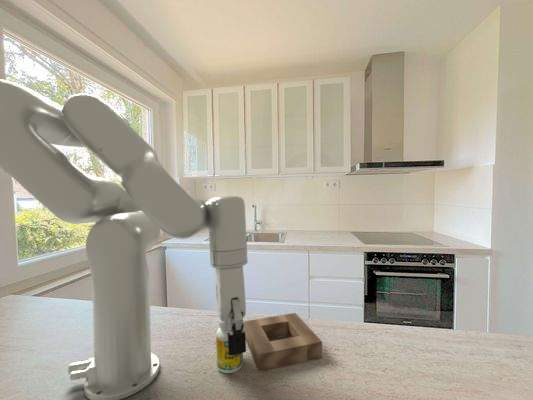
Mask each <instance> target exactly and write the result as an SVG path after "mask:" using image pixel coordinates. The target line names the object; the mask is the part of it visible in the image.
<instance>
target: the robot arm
mask: <svg viewBox="0 0 533 400" xmlns="http://www.w3.org/2000/svg"><path fill="white" fill-rule="evenodd" d="M55 146H64V147H75V148H76V147H77V148H85V149H88V150H90V151H91V153H92V154H93V155H94V156H96V157H97V159H99V160H100V162H101V163H102V164H103V165H105V167H107V168H108V170H109V171H111V172H112V173H113V174H114V175H115V176H116V178H117V180H118V181H119V183H120V185H119V184H117V183H116V182H114V181H112V180H110V179H107V178H103V177H99V176H94V175H92V174H88V173H86V171H83V170H82V169H81V168H80V167H79V166H77V165H76V164H75V163H74V162H72V160H70V159H69V158H68V157H67V156H66V155H65V154H64V153H63V152H62V151H61V150H59V149H58V148H57V147H55ZM0 169H1V170H3V171H4V172H5V173H7V174H8V175H9V176H10V177H11V178H12V179H13V180H15V181H16V182H17V183H18V184H19V185H20V186H21V187H22V188H23V189H25V190H26V191H27V192H28V193H29V194H30V195H32V197H33V198H35V199H36V200H37V201H38V202H40V203H41V204H42V206H44V207H45V208H46V209H48V211H49V212H50V213H52V214H53V215H54V216H55V217H57V218H58V219H59V220H61V221H62V222H64V223H68V224H73V225H74V224H75V225H77V224H88V223H94V224H93V226H92V227H91V228H90V230H89V231H88V233H87V237H86V241H85V253H86V257H87V261H88V262H87V263H88V267H89V270H90V277H91V293H92V316H93V318H92V319H93V321H92V322H93V326H92V327H93V356H91V357H90V358H89V359H85V360H77V361H71V362H70V363H69V365H68V369H67V370H68V372H67V373H68V375H70V381H74V380H80V379H84V378H85V381H84V384H83V387H84V388H83V393H84V396H85V397H86V398H87V399H89V400H123V399H125V398H128V397H130V396H132V395H134V394H137V393H138V392H140V391H142V390H143V389H144V388H146V387H147V386H149V384H150V383H152V382H153V381H154V380H155V378H156V377H157V375H158V374H159V372H160V368H161V367H160V365H161V364H160V363H161V360H160V357H158V355H156V354H155V353H153V352H152V340H151V339H152V338H151V336H152V335H151V334H152V333H151V332H152V330H151V327H152V326H151V325H152V324H151V291H150V288H151V287H150V286H151V285H150V284H151V283H150V274H149V266H148V262H147V257H146V254H147V252H148V251H150V250H151V249H152V248H154V247H155V246H156V245H157V243H158V242H159V240H160V236H161V231H162V232H163V233H165V234H166V235H168V236H170V237H172V238H175V239H179V240H186V239H190V238H193V237H195V236H196V235H197V234H199V233H200V232H202V231H208V239H209V255H210V256H209V257H210V267H211V268H214V269H215V304H216V309H217V314H218V317H219V319H220V320H221V321H224V320H228V326H229V333H228V349H229V355H230V356H232V355H236V354H240V353H243V354H244V353H245V352H247V345H246V344H247V342H246V339H245V328H244V318H245V316H246V315H247V314H246V312H247V311H246V309H247V308H246V288H245V274H244V266H245V265H247V264H248V262H249V261H248V244H247V225H246V220H247V219H246V205H245V200H244V198H242V197H241V196H235V195H231V196H229V195H227V196H216V197H211V198H201V197H192V196H191V195H190V194H189V193H188V192H187V191H185V190H184V188H182V187H181V185H180V184H178V182H177V181H176V180H175V179H174V178H173V177H172V176H171V175H170V174H169V173H168V171H167V170H166V169H165V168H164V167H163V165H162V163H160V161H159V156H158V154H157V152H156V151H155V149H154V148H153V147H152V146H151V145H150V144H149V143H148V142H147V141H146V140H145V139H144V138H143V137H142V136H141V135H140V134H139V133H138V132H137V131H136V130H135V129H134V128H133V127H132V126H131V124H130V122H129V120H128V119H127V118H126V116H124V114H122V113H121V112H120V111H119V110H117V109H116V108H115V107H114V106H113V105H111V104H110V103H109V102H108V101H106V100H105V99H102V97H99V96H97V95H94V94H90V93H78V94H77V93H76V94H74V95H71V96H69V97H68V98H67V99H66V100H65V101H64V103H63V104H62V106H61V105H60V104H58V103H57V102H54V101H52V100H51V99H49V98H48V97H45V96H43V94H40V93H38V92H36V91H34V90H32V89H30V88H28V87H26V86H24V85H21V84H18V83H16V82H12V81H9V80H5V79H0ZM230 314H232V315H233V316H230ZM232 320H234V324H233V326H232V322H231V321H232Z"/></svg>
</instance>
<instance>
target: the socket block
mask: <svg viewBox="0 0 533 400" xmlns="http://www.w3.org/2000/svg"><path fill="white" fill-rule="evenodd" d="M243 322H244V328H245V339H246V344H247V347H248V349H249V351H250V354H251V357H252V359H253V362H254V364H255V367H256V370H257V371H258V373H263V372H268V371H271V370H276V369H281V368H284V367H288V366H294V365H297V364H302V363H307V362H310V361H315V360H316V361H317V360H320V359H323V342H322V340H321V338H320V337H319V336H317V334H316V333H315V332H314V331H313V330H312V329H311V328H310V327H309V326H308V325H307V324H306V322H304V321H303V319H302V318H301V317H300V315H298V314H297V313H296V312H293V313H286V314H280V315H275V316H268V317H264V318H263V317H262V318H256V319H250V320H243ZM285 336H288V337H287V338H281V339H277V338H280V337H285ZM270 339H276V340H271V341H270Z"/></svg>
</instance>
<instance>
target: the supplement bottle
mask: <svg viewBox="0 0 533 400" xmlns="http://www.w3.org/2000/svg"><path fill="white" fill-rule="evenodd" d="M230 316H233V315H232V314H230ZM231 322H232V326H233V324H234V320H232V321H231ZM228 333H229V326H228V320H224V321H221V320H220V318H219V320H218V329H217V330H216V332H215V341H216V345H215V346H216V367H217V370H218V371H220V372H222V373H224V374H231V373H235V372H238V371H239V370H240V369H241V368H242V366H243V365H244V364H243V363H244V353H240V354H236V355H232V356H230V355H229V349H228Z"/></svg>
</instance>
